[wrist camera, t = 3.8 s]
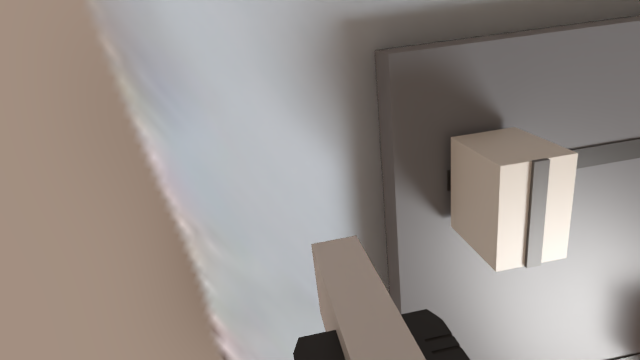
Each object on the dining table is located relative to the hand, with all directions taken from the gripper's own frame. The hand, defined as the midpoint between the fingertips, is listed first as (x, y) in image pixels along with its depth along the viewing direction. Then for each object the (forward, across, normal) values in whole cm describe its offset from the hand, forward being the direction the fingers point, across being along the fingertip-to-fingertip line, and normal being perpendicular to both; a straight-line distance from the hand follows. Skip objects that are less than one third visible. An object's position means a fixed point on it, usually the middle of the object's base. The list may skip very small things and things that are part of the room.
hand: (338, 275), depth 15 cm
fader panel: (+7, +15, -7) cm, 18 cm away
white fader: (+5, +8, 0) cm, 9 cm away
